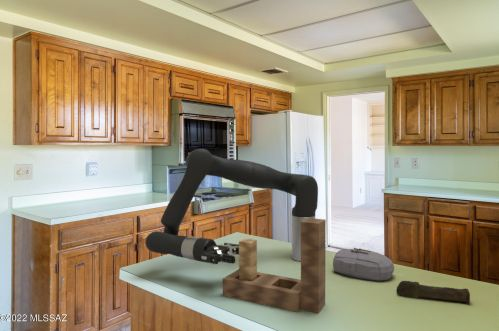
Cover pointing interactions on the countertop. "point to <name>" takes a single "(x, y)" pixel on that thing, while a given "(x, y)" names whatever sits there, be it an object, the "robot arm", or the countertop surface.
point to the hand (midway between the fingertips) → (241, 256)
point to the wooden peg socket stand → (289, 289)
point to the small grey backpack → (363, 264)
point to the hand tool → (432, 292)
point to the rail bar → (248, 259)
